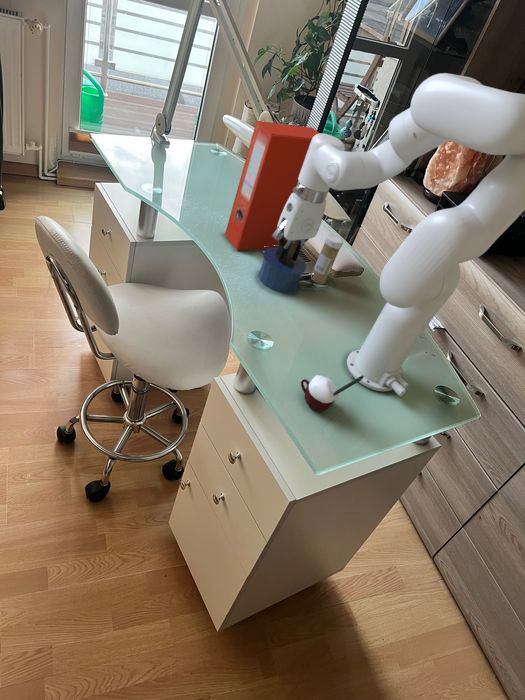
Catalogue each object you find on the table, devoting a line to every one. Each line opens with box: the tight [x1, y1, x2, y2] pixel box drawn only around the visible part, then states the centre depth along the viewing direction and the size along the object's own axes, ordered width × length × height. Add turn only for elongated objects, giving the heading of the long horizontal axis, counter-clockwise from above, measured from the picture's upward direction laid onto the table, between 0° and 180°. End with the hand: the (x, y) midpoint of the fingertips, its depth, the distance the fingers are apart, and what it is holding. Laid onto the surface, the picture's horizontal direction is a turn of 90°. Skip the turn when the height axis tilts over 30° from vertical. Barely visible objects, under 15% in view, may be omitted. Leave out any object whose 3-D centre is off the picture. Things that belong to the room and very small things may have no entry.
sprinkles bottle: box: [310, 233, 344, 285], centre depth 133 cm, size 5×5×14 cm
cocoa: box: [300, 374, 364, 412], centre depth 97 cm, size 10×6×12 cm, turn 34°
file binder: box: [224, 120, 320, 251], centre depth 133 cm, size 8×17×32 cm, turn 121°
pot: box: [258, 259, 304, 294], centre depth 128 cm, size 10×10×6 cm
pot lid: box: [262, 239, 307, 275], centre depth 125 cm, size 11×11×7 cm
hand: (285, 258), depth 126 cm, fingers closed on pot lid, 3 cm apart
